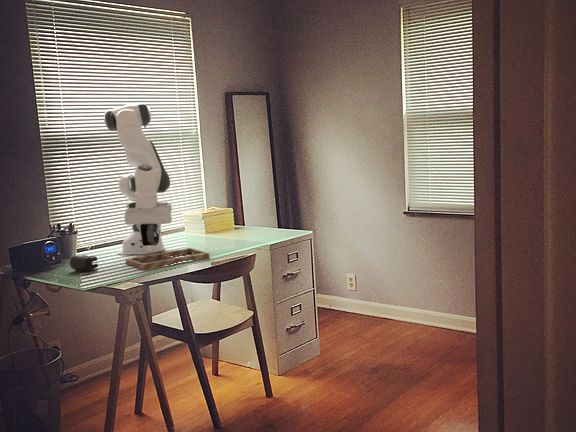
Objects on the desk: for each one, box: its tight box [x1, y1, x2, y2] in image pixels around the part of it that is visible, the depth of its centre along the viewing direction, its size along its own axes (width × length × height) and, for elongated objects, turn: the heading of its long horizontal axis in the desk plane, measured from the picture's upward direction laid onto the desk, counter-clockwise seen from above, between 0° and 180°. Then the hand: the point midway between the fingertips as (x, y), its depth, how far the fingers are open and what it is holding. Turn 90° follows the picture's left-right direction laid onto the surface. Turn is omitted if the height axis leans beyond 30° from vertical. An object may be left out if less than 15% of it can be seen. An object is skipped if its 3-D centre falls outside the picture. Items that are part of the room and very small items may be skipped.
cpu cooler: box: [141, 224, 159, 246], centre depth 272 cm, size 10×6×10 cm, turn 176°
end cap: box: [69, 254, 99, 273], centre depth 266 cm, size 10×7×7 cm
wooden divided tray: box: [125, 247, 211, 271], centre depth 277 cm, size 32×20×2 cm, turn 125°
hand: (149, 233), depth 272 cm, fingers closed on cpu cooler, 5 cm apart
